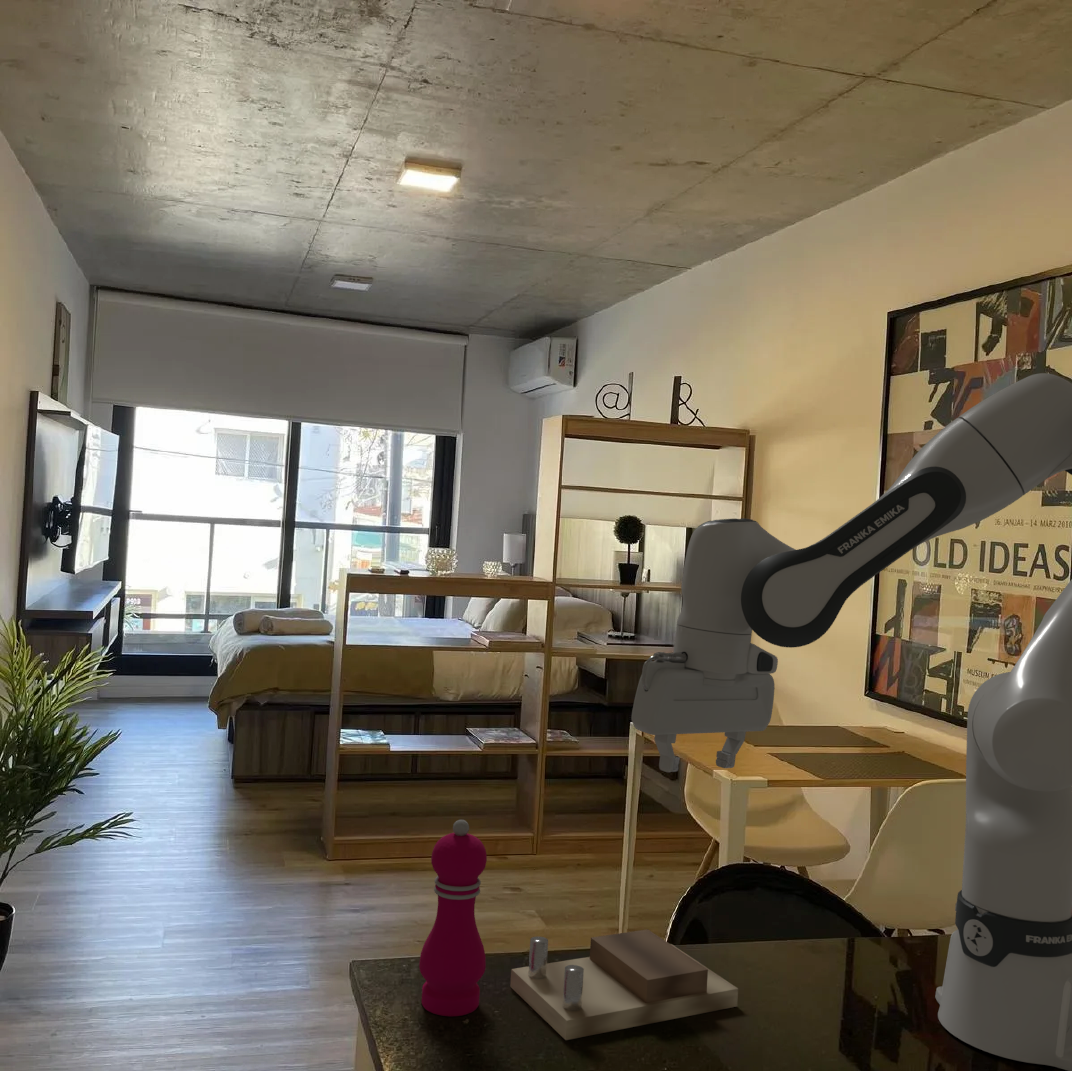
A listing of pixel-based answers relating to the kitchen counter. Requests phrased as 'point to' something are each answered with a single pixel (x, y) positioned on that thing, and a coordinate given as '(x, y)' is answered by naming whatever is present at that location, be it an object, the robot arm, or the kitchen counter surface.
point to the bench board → (602, 996)
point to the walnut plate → (648, 965)
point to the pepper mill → (454, 927)
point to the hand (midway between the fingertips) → (697, 769)
